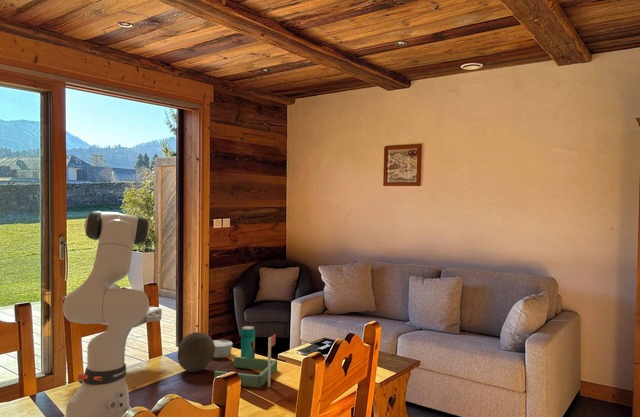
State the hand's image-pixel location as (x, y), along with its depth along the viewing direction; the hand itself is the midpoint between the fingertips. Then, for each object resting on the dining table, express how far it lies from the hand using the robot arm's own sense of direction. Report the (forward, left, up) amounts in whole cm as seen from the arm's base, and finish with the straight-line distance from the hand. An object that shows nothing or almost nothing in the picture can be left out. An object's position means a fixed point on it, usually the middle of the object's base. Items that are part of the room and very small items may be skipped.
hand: (159, 318), depth 204 cm
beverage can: (+15, -33, -20) cm, 41 cm away
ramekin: (+22, -17, -20) cm, 34 cm away
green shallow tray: (0, -40, -20) cm, 44 cm away
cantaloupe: (0, -17, -20) cm, 26 cm away
